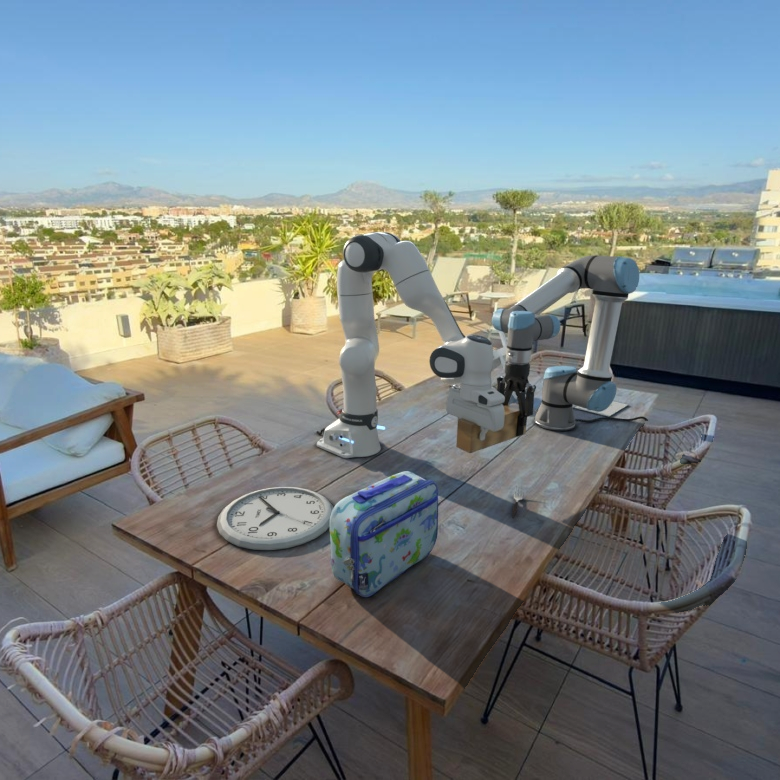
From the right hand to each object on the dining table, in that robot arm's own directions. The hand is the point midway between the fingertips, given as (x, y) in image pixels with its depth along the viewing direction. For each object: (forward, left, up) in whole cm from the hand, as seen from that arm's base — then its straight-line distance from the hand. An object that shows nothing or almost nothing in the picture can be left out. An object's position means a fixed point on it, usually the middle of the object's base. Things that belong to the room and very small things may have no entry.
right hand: (511, 431), depth 168 cm
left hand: (+13, +13, +3) cm, 19 cm away
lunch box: (+33, +61, -11) cm, 70 cm away
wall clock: (+64, +43, -11) cm, 78 cm away
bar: (+7, +7, -1) cm, 9 cm away
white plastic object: (+6, -76, -11) cm, 77 cm away
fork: (+1, +28, -11) cm, 30 cm away
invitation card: (-45, -64, -11) cm, 79 cm away
